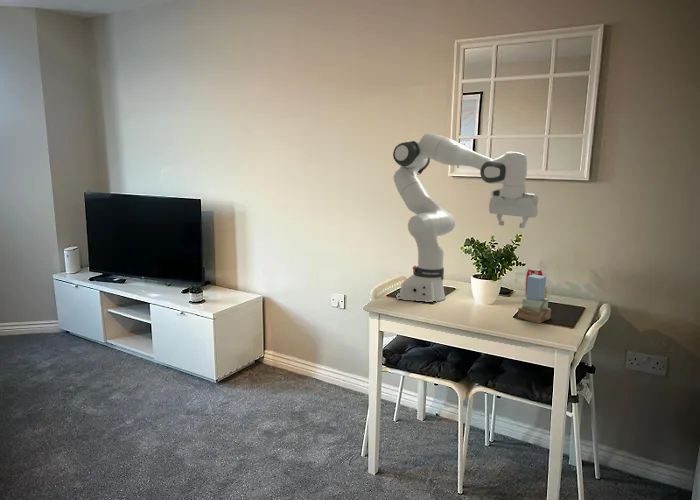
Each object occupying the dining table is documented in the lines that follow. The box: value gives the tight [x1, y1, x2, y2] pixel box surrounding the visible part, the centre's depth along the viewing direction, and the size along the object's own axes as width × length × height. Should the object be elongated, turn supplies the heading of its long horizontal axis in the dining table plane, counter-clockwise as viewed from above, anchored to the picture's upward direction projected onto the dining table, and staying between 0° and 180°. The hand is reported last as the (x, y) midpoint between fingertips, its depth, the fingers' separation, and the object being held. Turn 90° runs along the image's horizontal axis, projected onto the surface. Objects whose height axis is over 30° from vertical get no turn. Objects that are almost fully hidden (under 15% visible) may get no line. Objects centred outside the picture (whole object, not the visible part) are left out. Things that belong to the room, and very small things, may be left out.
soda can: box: [525, 267, 544, 294], centre depth 232 cm, size 7×7×12 cm
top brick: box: [525, 274, 547, 301], centre depth 196 cm, size 5×5×9 cm
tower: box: [517, 296, 552, 324], centre depth 197 cm, size 9×9×8 cm
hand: (511, 226), depth 204 cm, fingers open, 8 cm apart
